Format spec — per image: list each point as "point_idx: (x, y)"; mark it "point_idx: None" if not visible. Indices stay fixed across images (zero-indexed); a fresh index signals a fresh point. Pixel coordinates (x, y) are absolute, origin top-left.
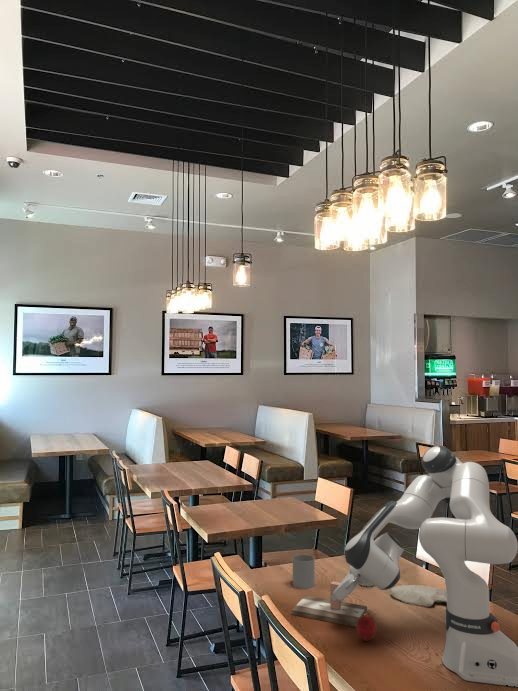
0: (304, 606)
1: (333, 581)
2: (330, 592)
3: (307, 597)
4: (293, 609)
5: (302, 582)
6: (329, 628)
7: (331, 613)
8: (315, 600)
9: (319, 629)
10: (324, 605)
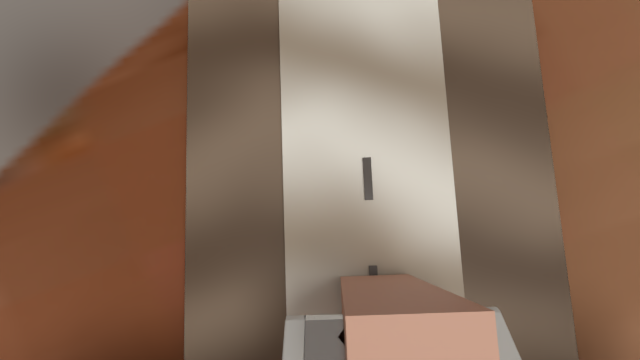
0: (285, 57)
1: (495, 334)
2: (344, 294)
3: (494, 3)
4: (202, 3)
5: None
6: (84, 355)
7: (264, 312)
8: (467, 86)
9: (39, 290)
10: (390, 199)
